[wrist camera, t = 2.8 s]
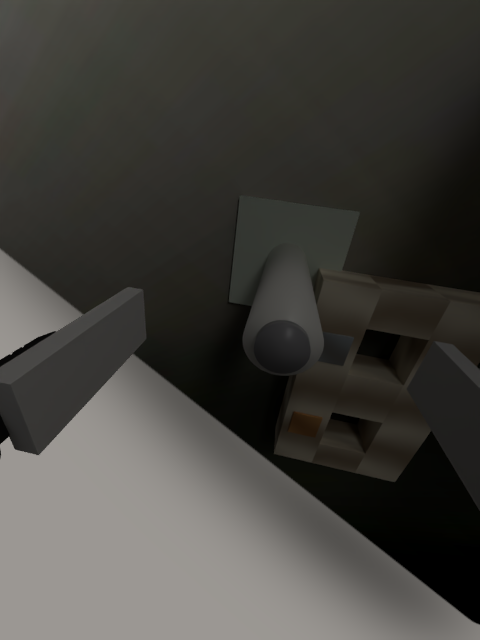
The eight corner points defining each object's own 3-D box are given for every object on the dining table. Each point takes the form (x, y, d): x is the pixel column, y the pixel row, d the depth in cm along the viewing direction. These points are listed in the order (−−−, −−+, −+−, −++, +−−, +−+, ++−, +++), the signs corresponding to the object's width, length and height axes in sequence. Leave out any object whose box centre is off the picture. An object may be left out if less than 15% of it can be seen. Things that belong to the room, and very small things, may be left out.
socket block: (318, 266, 24) (324, 281, 20) (479, 292, 22) (517, 313, 19) (275, 426, 34) (273, 455, 31) (383, 450, 33) (395, 483, 29)
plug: (270, 239, 23) (245, 306, 10) (310, 245, 23) (336, 322, 10) (264, 277, 25) (235, 375, 12) (301, 284, 24) (313, 391, 12)
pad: (240, 195, 22) (239, 195, 22) (358, 211, 21) (360, 212, 21) (229, 300, 27) (228, 301, 27) (325, 317, 26) (326, 319, 26)
